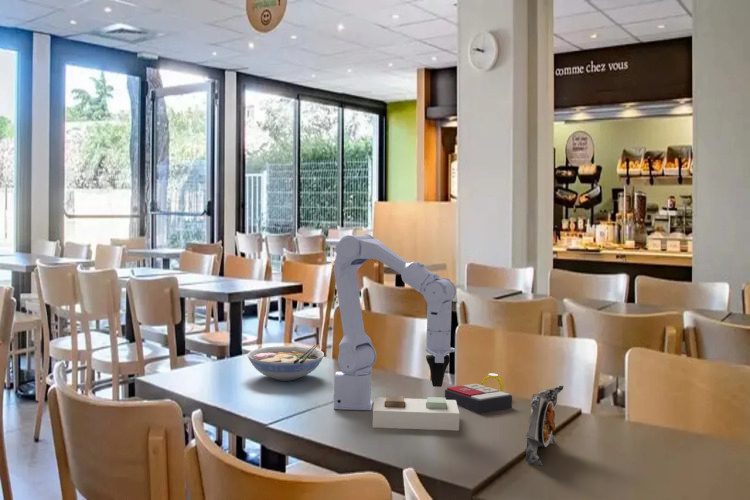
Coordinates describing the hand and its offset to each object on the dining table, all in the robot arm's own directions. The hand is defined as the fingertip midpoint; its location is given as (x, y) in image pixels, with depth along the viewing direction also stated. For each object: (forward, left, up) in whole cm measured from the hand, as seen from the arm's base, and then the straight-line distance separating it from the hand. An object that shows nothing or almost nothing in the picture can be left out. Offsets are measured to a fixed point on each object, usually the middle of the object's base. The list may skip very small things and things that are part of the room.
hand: (437, 386), depth 161 cm
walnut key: (-10, 0, -7) cm, 12 cm away
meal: (+22, -18, -9) cm, 30 cm away
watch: (+17, +25, -9) cm, 32 cm away
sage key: (0, 0, -7) cm, 7 cm away
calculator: (+12, +17, -10) cm, 23 cm away
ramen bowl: (-43, +37, -9) cm, 57 cm away
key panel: (-5, 0, -9) cm, 10 cm away
